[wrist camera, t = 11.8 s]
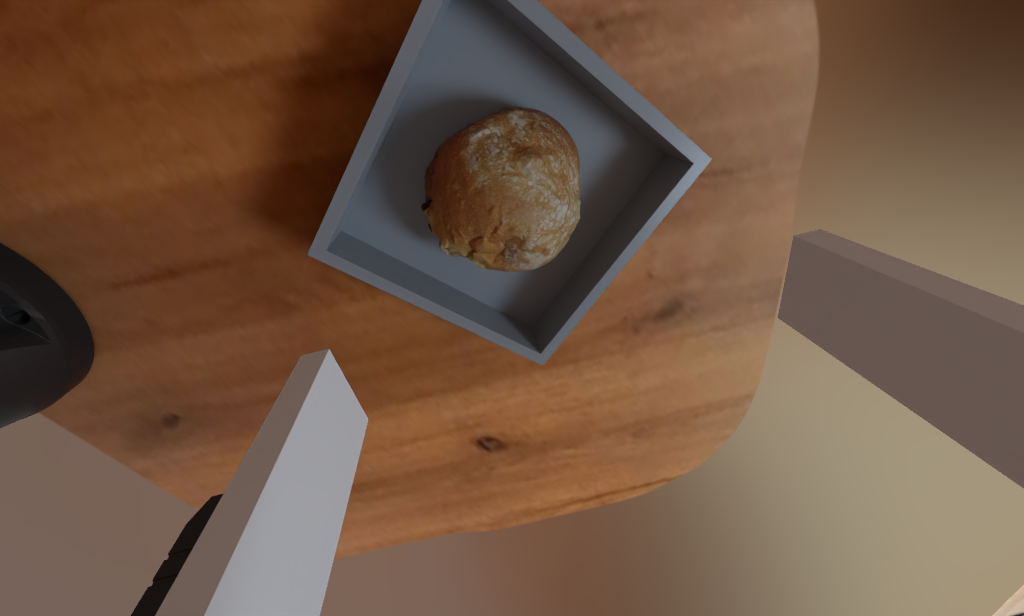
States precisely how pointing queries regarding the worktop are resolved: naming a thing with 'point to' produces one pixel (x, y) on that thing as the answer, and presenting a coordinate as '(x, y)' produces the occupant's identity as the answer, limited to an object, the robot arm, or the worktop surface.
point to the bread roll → (505, 190)
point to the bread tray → (467, 99)
